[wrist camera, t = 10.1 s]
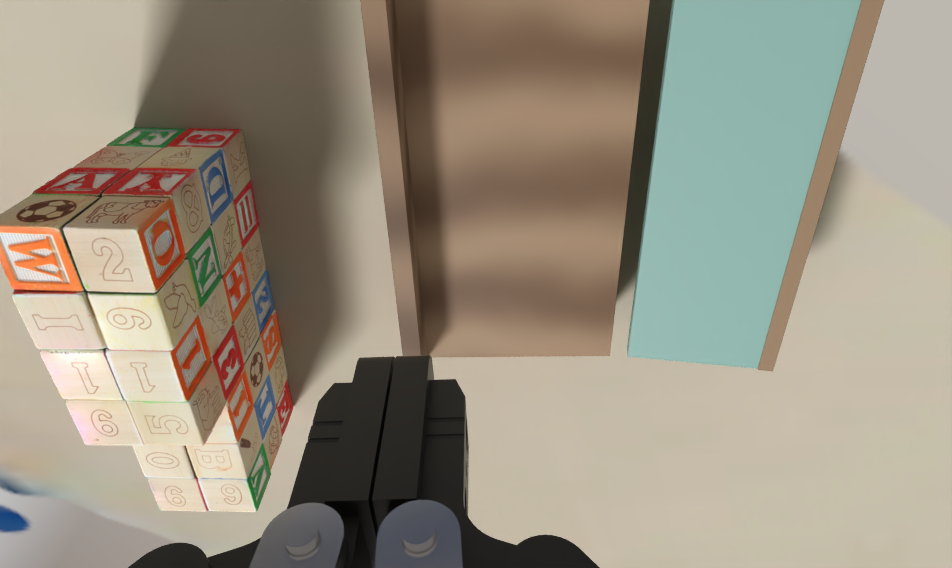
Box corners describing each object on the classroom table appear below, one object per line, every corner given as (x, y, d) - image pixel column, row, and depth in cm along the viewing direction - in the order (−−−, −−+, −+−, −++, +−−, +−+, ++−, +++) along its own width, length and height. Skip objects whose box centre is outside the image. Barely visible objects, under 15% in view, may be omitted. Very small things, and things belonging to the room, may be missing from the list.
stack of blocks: (297, 407, 46) (240, 559, 36) (213, 405, 46) (132, 556, 36) (242, 125, 34) (135, 229, 24) (130, 123, 35) (-25, 225, 24)
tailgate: (681, -47, 25) (899, -50, 24) (678, -50, 26) (887, -53, 25) (627, 357, 36) (772, 371, 35) (627, 344, 37) (768, 357, 36)
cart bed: (380, -60, 29) (354, -47, 24) (637, -68, 29) (671, -57, 23) (417, 318, 41) (406, 385, 36) (600, 316, 41) (616, 383, 35)
